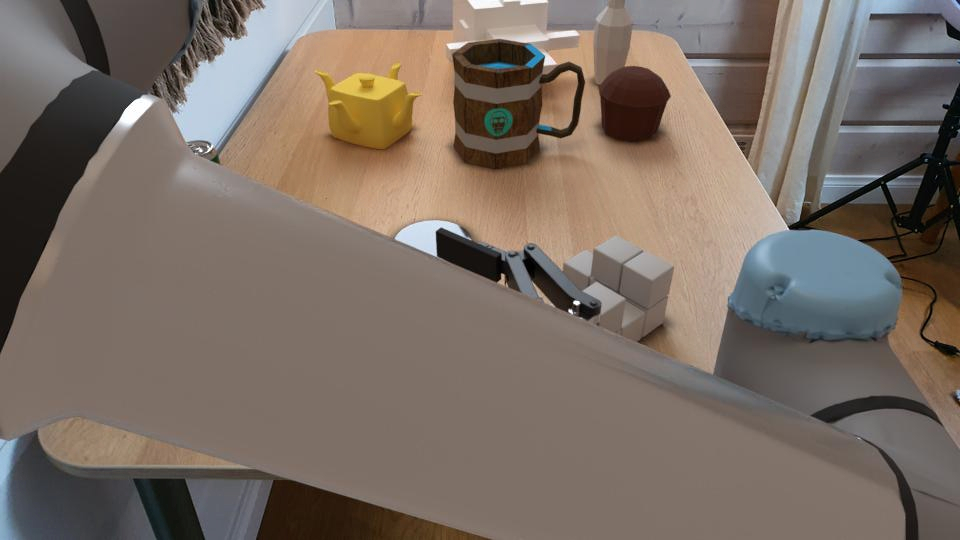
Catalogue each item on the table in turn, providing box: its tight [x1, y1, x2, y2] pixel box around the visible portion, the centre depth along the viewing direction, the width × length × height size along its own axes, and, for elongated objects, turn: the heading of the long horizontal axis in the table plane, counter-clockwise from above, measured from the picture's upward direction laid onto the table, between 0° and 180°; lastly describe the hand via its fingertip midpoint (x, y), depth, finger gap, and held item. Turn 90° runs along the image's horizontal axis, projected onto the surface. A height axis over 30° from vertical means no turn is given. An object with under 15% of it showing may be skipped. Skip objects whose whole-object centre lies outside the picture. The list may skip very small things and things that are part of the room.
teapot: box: [314, 61, 423, 150], centre depth 117 cm, size 15×14×10 cm
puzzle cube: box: [547, 235, 675, 343], centre depth 80 cm, size 12×12×8 cm
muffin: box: [597, 65, 672, 143], centre depth 118 cm, size 12×11×10 cm
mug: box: [452, 39, 586, 170], centre depth 111 cm, size 20×14×15 cm
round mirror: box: [394, 219, 473, 262], centre depth 94 cm, size 10×10×1 cm
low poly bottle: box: [592, 0, 634, 86], centre depth 130 cm, size 6×6×22 cm
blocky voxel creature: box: [445, 0, 581, 74], centre depth 136 cm, size 15×25×28 cm
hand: (385, 279), depth 60 cm, fingers open, 13 cm apart
